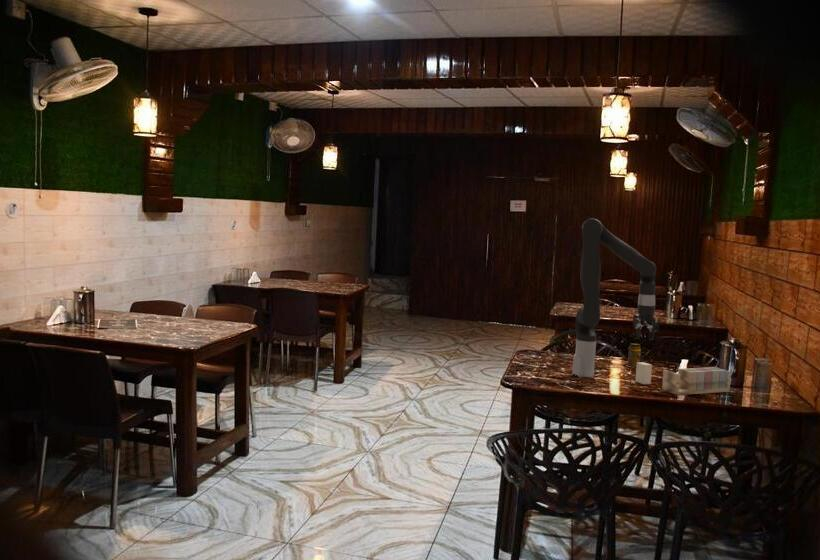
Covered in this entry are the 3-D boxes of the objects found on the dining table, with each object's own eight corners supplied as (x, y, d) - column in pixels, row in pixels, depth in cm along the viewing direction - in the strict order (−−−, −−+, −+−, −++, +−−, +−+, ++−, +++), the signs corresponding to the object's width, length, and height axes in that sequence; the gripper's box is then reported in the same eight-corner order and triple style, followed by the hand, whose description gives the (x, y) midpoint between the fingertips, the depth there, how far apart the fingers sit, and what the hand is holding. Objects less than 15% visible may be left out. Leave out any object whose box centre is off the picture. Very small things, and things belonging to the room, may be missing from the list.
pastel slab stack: (729, 391, 293) (730, 370, 292) (676, 394, 282) (678, 373, 282) (713, 386, 301) (715, 366, 301) (661, 389, 291) (663, 368, 290)
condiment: (642, 368, 338) (644, 345, 337) (627, 367, 336) (629, 345, 335) (636, 365, 345) (637, 342, 344) (621, 364, 344) (622, 342, 343)
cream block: (643, 384, 300) (645, 365, 300) (635, 381, 306) (636, 362, 305) (650, 383, 302) (652, 364, 301) (642, 381, 307) (643, 362, 306)
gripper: (629, 302, 307) (627, 336, 308) (651, 306, 294) (649, 341, 295) (642, 302, 310) (640, 335, 311) (664, 305, 297) (662, 340, 298)
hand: (644, 338), depth 303 cm, fingers open, 8 cm apart
